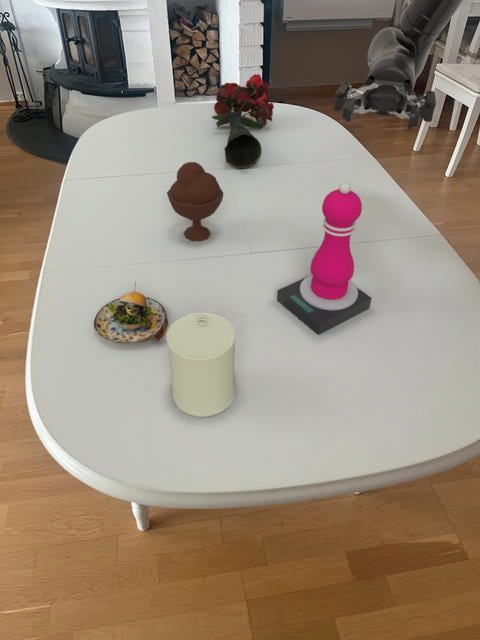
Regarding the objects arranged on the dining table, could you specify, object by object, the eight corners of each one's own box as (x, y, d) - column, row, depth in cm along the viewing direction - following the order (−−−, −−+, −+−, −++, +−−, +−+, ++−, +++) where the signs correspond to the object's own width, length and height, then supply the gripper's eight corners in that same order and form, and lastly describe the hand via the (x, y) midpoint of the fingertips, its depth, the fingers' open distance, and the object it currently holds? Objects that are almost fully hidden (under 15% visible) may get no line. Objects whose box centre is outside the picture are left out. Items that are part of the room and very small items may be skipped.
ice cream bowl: (162, 243, 105) (155, 174, 96) (184, 216, 113) (179, 150, 103) (211, 253, 103) (209, 183, 93) (230, 225, 111) (229, 158, 101)
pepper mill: (318, 305, 87) (333, 197, 73) (301, 280, 92) (313, 174, 79) (357, 297, 88) (379, 190, 75) (339, 273, 94) (356, 169, 80)
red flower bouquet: (247, 195, 137) (232, 135, 161) (304, 150, 130) (279, 95, 154) (207, 155, 127) (198, 98, 152) (266, 104, 120) (246, 53, 145)
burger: (81, 326, 86) (72, 291, 81) (137, 294, 93) (132, 259, 88) (126, 362, 80) (119, 326, 75) (183, 325, 87) (180, 290, 82)
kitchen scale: (326, 277, 97) (328, 264, 96) (369, 308, 91) (372, 295, 89) (276, 300, 92) (277, 287, 90) (318, 335, 86) (320, 322, 84)
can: (234, 368, 80) (234, 308, 72) (236, 416, 73) (237, 356, 65) (173, 369, 79) (167, 309, 71) (170, 418, 72) (163, 357, 64)
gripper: (348, 53, 82) (331, 84, 71) (442, 62, 79) (440, 96, 68) (342, 102, 87) (325, 138, 76) (429, 112, 84) (426, 151, 73)
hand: (379, 118), depth 72 cm, fingers open, 8 cm apart
